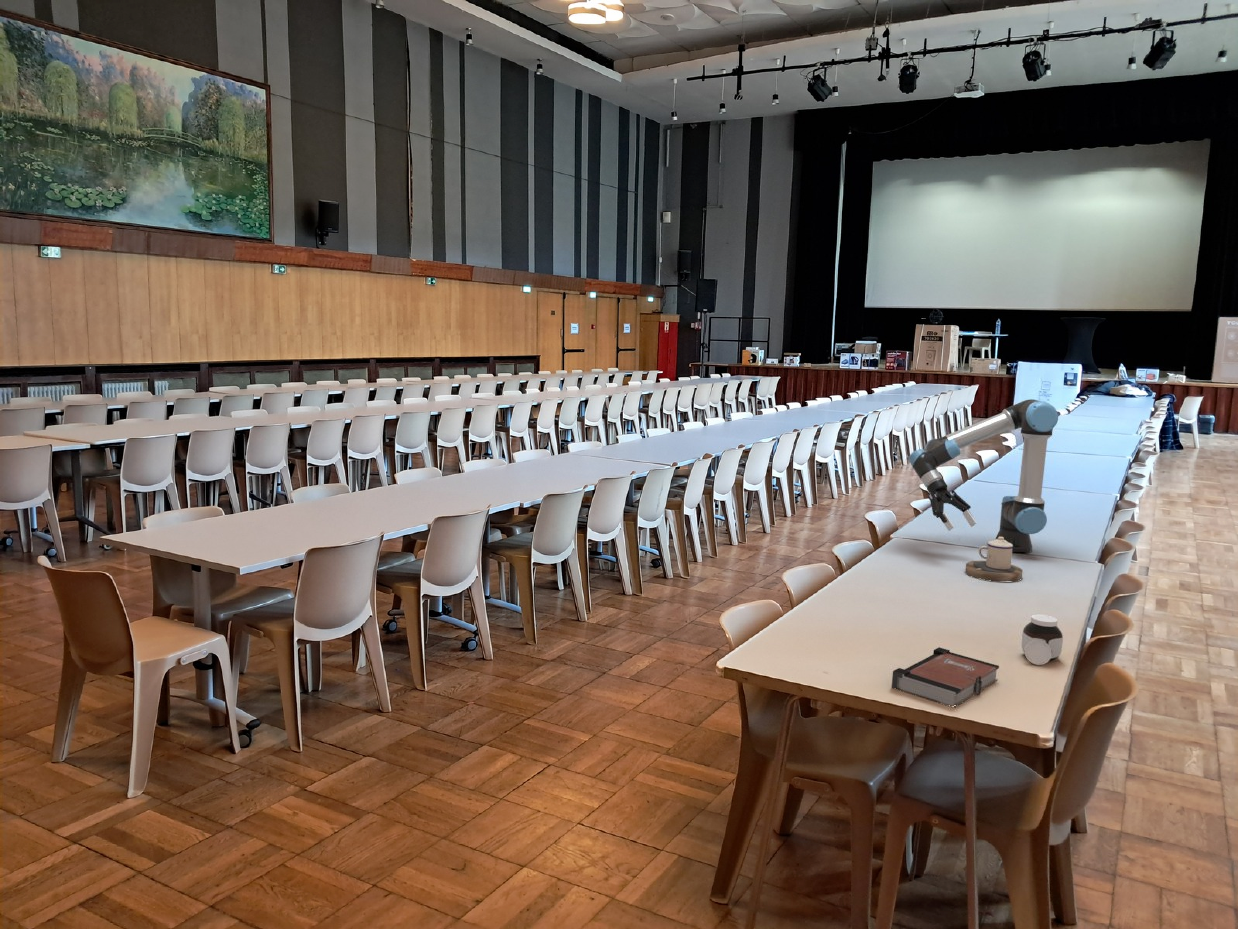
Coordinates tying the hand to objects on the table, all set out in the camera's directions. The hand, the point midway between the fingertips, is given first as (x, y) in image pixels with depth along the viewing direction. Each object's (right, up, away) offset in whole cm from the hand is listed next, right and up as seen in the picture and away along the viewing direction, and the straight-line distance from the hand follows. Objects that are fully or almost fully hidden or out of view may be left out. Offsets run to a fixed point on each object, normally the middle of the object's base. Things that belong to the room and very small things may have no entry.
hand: (962, 527), depth 357 cm
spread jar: (-17, -31, -101) cm, 107 cm away
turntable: (+7, -17, -13) cm, 23 cm away
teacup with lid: (+7, -14, -13) cm, 21 cm away
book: (-51, -33, -121) cm, 135 cm away
